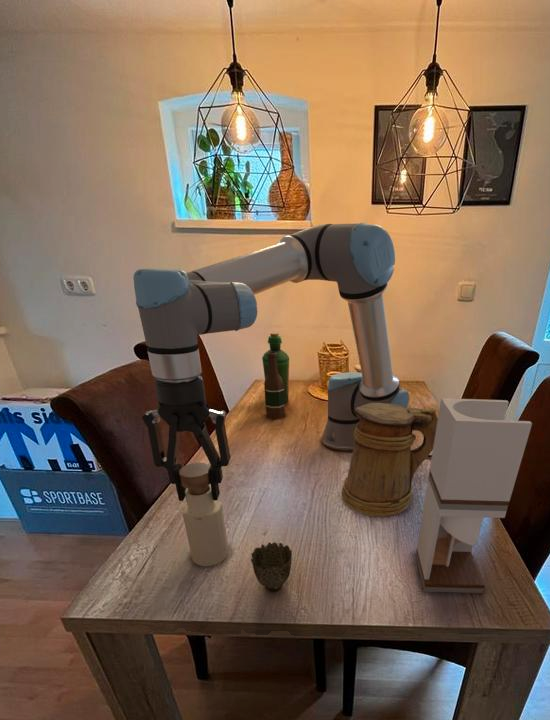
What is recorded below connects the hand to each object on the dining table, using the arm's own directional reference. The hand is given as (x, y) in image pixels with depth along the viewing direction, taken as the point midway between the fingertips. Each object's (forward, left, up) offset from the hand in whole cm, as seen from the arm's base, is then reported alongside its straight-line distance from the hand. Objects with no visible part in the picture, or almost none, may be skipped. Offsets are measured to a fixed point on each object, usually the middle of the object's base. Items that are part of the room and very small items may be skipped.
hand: (199, 496), depth 76 cm
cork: (0, 0, -1) cm, 1 cm away
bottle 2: (-8, -97, -15) cm, 98 cm away
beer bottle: (-8, -82, -15) cm, 84 cm away
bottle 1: (0, 0, -14) cm, 14 cm away
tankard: (-41, -21, -15) cm, 48 cm away
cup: (-14, +10, -15) cm, 23 cm away
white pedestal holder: (-49, +8, -15) cm, 52 cm away
